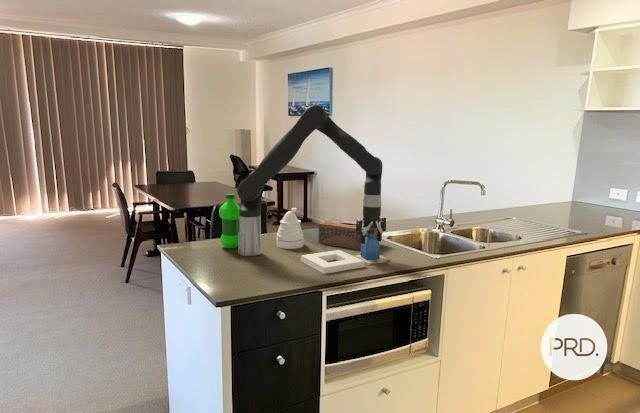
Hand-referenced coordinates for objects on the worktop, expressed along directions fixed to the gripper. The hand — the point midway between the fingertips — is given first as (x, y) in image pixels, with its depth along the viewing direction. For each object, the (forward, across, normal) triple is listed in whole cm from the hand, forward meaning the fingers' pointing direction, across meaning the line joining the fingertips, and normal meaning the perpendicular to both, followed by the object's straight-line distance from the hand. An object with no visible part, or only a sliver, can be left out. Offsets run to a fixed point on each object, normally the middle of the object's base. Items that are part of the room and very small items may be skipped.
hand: (370, 242), depth 189 cm
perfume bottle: (+7, 0, 0) cm, 7 cm away
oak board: (+8, 0, 0) cm, 8 cm away
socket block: (+8, +18, -2) cm, 20 cm away
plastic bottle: (+8, +46, -46) cm, 66 cm away
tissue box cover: (+8, -7, -27) cm, 29 cm away
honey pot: (+8, +20, -37) cm, 43 cm away
